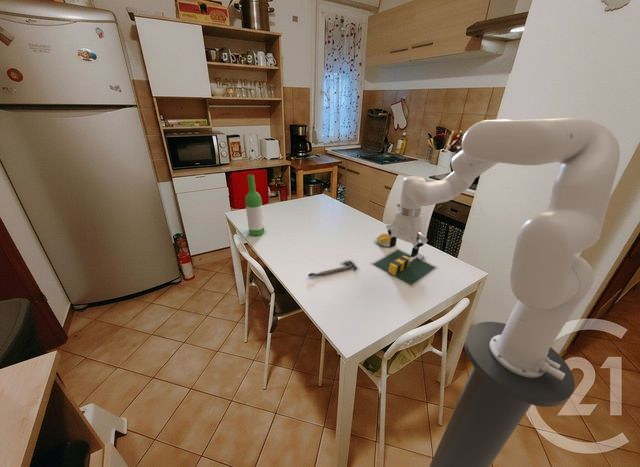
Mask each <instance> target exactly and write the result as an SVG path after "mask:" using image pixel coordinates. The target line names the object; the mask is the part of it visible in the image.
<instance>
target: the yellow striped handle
mask: <svg viewBox="0 0 640 467" xmlns="http://www.w3.org/2000/svg"><path fill="white" fill-rule="evenodd" d="M410 257H411V255H410ZM424 258H425V255H424V254H421V253H419V252H418V254H417V255H416V256H414V257H411V258H408V257H406V256H401V257H400V258H399V259H397V260H395V261H393V262H391V263H390V265H389V271H388V272H387V273H389V274H390V273H391V275H392V274H393V275H392V276H394V275H396V274H398V273H399V272H400V271H402V270H404V269H405V268H407V267H408V266H409V264H410V263H412V262H413V261H415V260H419V261H420V260H421V261H422V260H423V259H424Z"/></svg>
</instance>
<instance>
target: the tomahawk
mask: <svg viewBox="0 0 640 467" xmlns="http://www.w3.org/2000/svg"><path fill="white" fill-rule="evenodd" d="M342 264H343V265H346V266H343V267H337V268H333V269H329V270H325V271H321V272H318V273H314V272H310V273H309V274H307V276H308V277H320V276H326V275H330V274H335V273H339V272H343V271H346V270H350V269H353V270H354V271H355V270H358V266H356V265H355V264H354V263H353V262H352V261H351V260H348V261H345V262H344V263H342Z"/></svg>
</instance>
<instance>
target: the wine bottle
mask: <svg viewBox="0 0 640 467" xmlns="http://www.w3.org/2000/svg"><path fill="white" fill-rule="evenodd" d="M247 182H248V183H247V184H248V185H247V186H248V192H247V194H246V195H245V198H244V202H245V209H246V210H245V212H246V218H247V219H246V220H247V226H248V231H249V232H248V233H249V234H250V235H251V236H261V235H263V234H264V233H265V220H264V211H263V201H262V196H261V195H260V193H259V192H257V191H256V182H255V175H254V174H248V175H247Z"/></svg>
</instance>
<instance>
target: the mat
mask: <svg viewBox="0 0 640 467" xmlns="http://www.w3.org/2000/svg"><path fill="white" fill-rule="evenodd" d="M401 256H406V257H408V258H411V257H410V256H411V254H408V253H406V252H404V251H402V250H399V249H397V250H396V251H394V252H392V253H390V254H388V255H386V256H385V257H383V258H381V259H380V260H378V261H376V262H375V263H373V265H374V266H376V267H378V268H380V269H382V270H383V271H385V272H387V273H389V272H388V271H389V265H390V263H391V262H393V261H395V260H397V259H399V258H400V257H401ZM433 269H435V266H433V265H431V264H430V263H427V262H425V261H423V260H422V259H421V260H420V261H419V260H415V261H413V262H412V263H410V264H409V266H408V267H407V268H405V269H404V270H402V271H400V272H399V273H398V274H396V275H393V274H391V273H389V274H391V275H392V276H394V277H396V278H397V279H400V280H401V281H402V282H403V281H404V282H405V283H406V284H409V285H410V286H411V285H413V284H415V283H416V282H417V281H418V280H420V279H421V278H422V277H424V276H425V275H426V274H428V273H429V272H431V271H432V270H433Z"/></svg>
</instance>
